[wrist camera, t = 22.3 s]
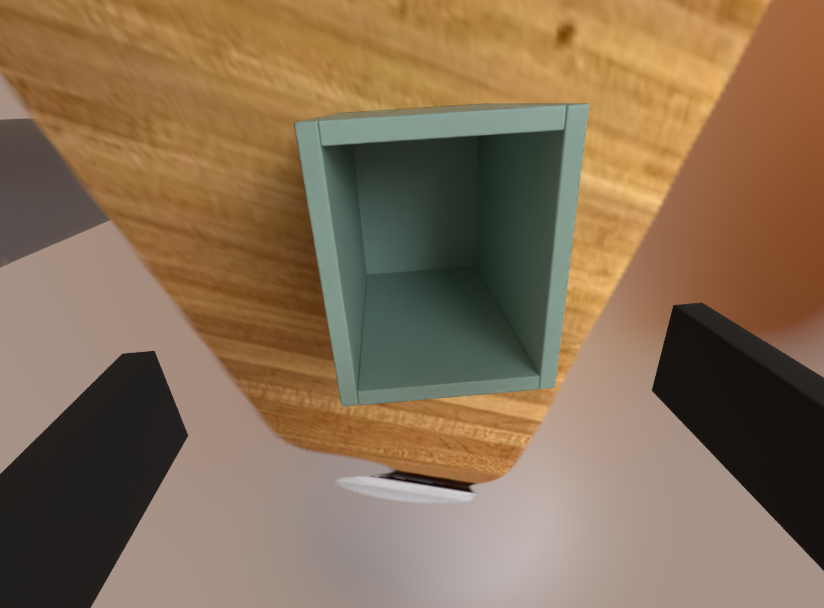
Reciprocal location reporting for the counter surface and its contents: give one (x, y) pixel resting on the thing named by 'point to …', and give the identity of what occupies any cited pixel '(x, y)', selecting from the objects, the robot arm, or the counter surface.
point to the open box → (444, 244)
